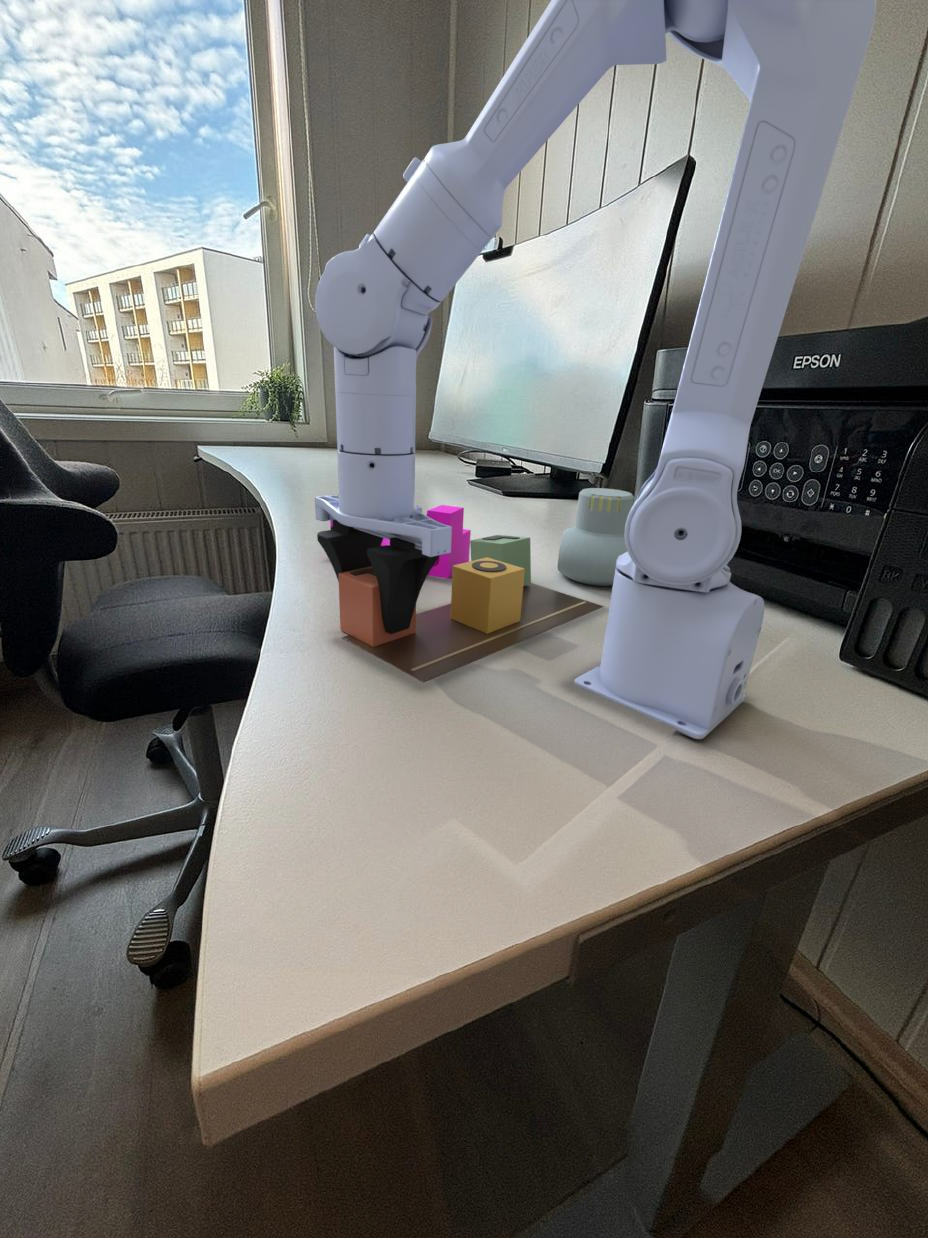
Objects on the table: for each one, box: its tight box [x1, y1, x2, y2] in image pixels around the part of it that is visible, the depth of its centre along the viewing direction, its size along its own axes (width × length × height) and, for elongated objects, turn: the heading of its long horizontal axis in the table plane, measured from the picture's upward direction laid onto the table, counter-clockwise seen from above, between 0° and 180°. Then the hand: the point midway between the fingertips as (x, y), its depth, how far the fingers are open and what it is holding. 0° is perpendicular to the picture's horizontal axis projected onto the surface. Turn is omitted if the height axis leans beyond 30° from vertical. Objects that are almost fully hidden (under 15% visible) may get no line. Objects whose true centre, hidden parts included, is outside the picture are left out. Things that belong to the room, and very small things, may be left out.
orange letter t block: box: [338, 566, 417, 647], centre depth 46 cm, size 4×4×5 cm
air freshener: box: [557, 487, 635, 587], centre depth 63 cm, size 11×8×10 cm
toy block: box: [329, 494, 472, 579], centre depth 66 cm, size 15×6×8 cm, turn 68°
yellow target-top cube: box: [450, 557, 525, 634], centre depth 50 cm, size 4×4×5 cm
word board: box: [341, 582, 604, 683], centre depth 51 cm, size 10×24×1 cm, turn 136°
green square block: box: [470, 534, 532, 586], centre depth 60 cm, size 4×4×5 cm
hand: (378, 620), depth 47 cm, fingers closed on orange letter t block, 4 cm apart
